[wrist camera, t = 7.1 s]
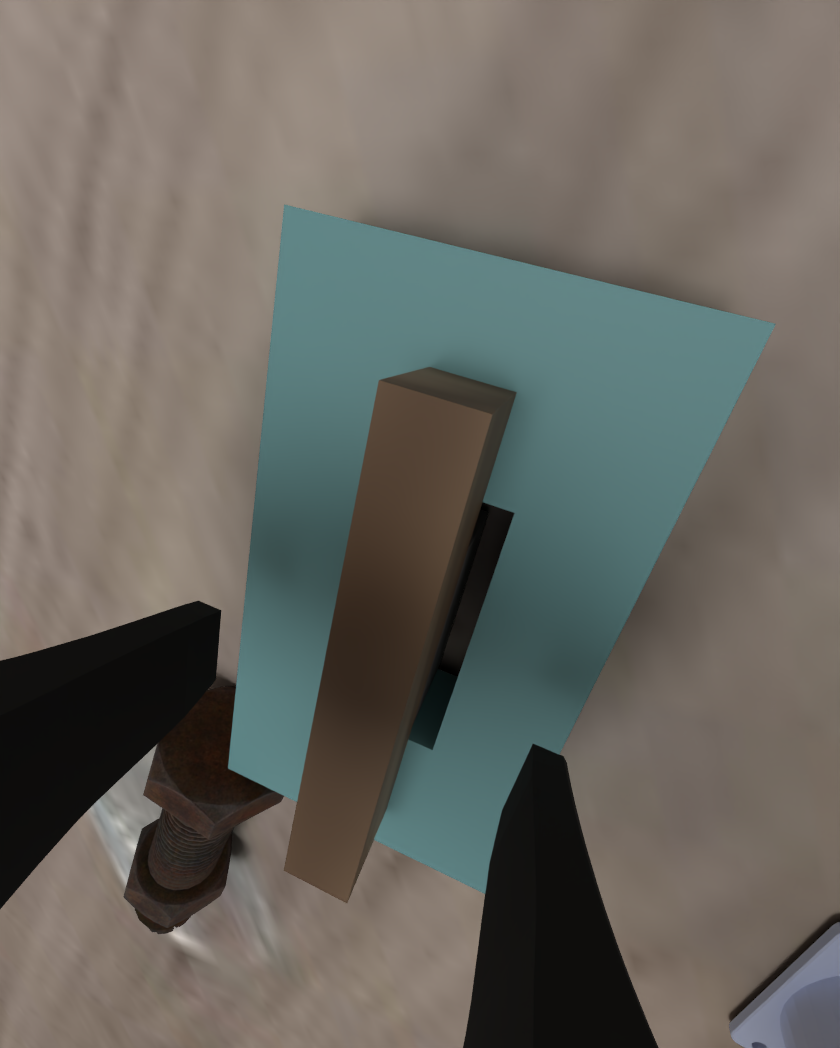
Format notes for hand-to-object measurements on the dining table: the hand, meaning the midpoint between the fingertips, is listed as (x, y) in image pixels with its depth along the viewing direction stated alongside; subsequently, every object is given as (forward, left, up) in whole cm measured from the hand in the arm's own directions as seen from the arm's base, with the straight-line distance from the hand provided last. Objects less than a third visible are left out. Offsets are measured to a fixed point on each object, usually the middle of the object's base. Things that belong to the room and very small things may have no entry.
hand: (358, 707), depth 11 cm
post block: (0, 0, -7) cm, 7 cm away
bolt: (+8, +17, -7) cm, 20 cm away
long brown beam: (0, 0, -6) cm, 6 cm away
